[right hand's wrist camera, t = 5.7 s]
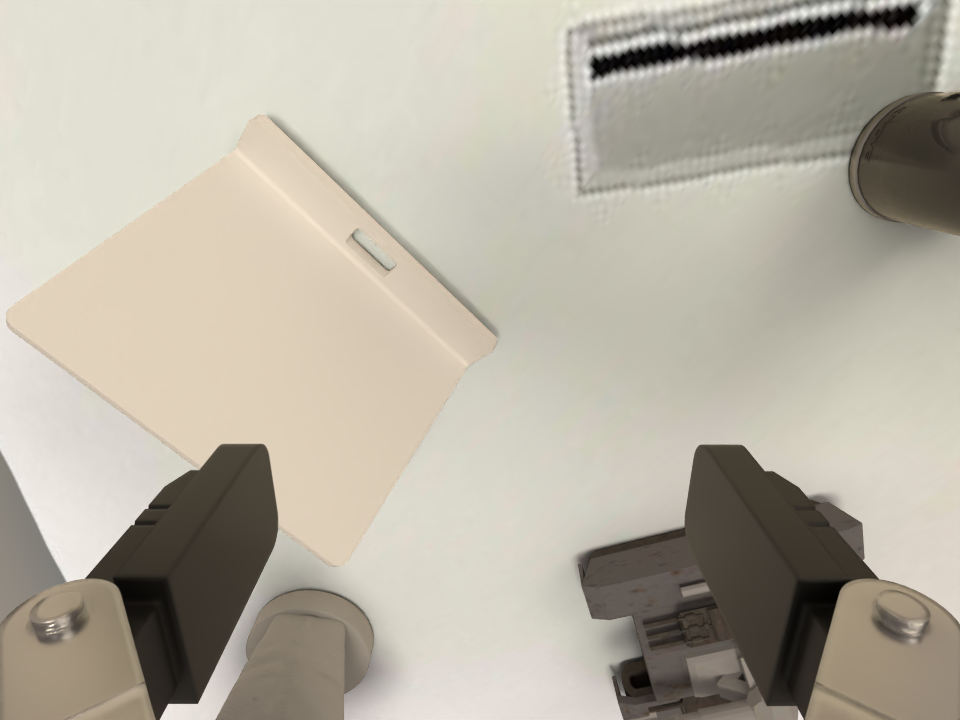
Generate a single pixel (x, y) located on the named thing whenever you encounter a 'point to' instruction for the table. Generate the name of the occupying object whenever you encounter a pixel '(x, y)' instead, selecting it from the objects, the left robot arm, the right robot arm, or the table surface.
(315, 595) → the bust sculpture
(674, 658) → the toy
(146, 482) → the table surface
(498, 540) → the table surface
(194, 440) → the tablet stand
